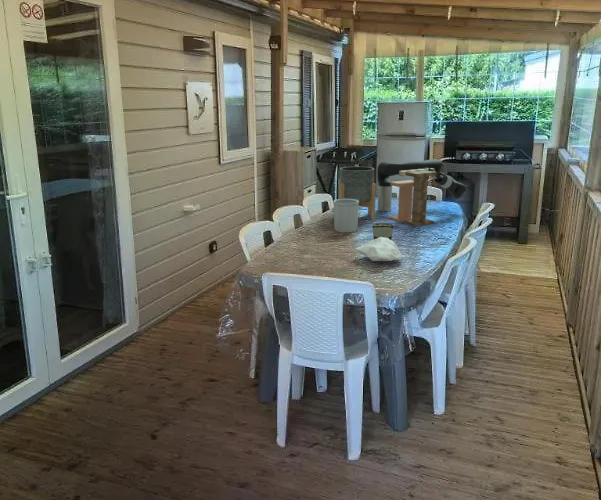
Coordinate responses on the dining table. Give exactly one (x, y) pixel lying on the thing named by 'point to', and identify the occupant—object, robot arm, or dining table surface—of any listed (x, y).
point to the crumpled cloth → (380, 250)
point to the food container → (382, 230)
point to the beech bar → (402, 173)
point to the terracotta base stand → (404, 200)
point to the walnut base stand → (419, 197)
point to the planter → (358, 187)
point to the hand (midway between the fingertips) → (426, 169)
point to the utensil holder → (346, 215)
